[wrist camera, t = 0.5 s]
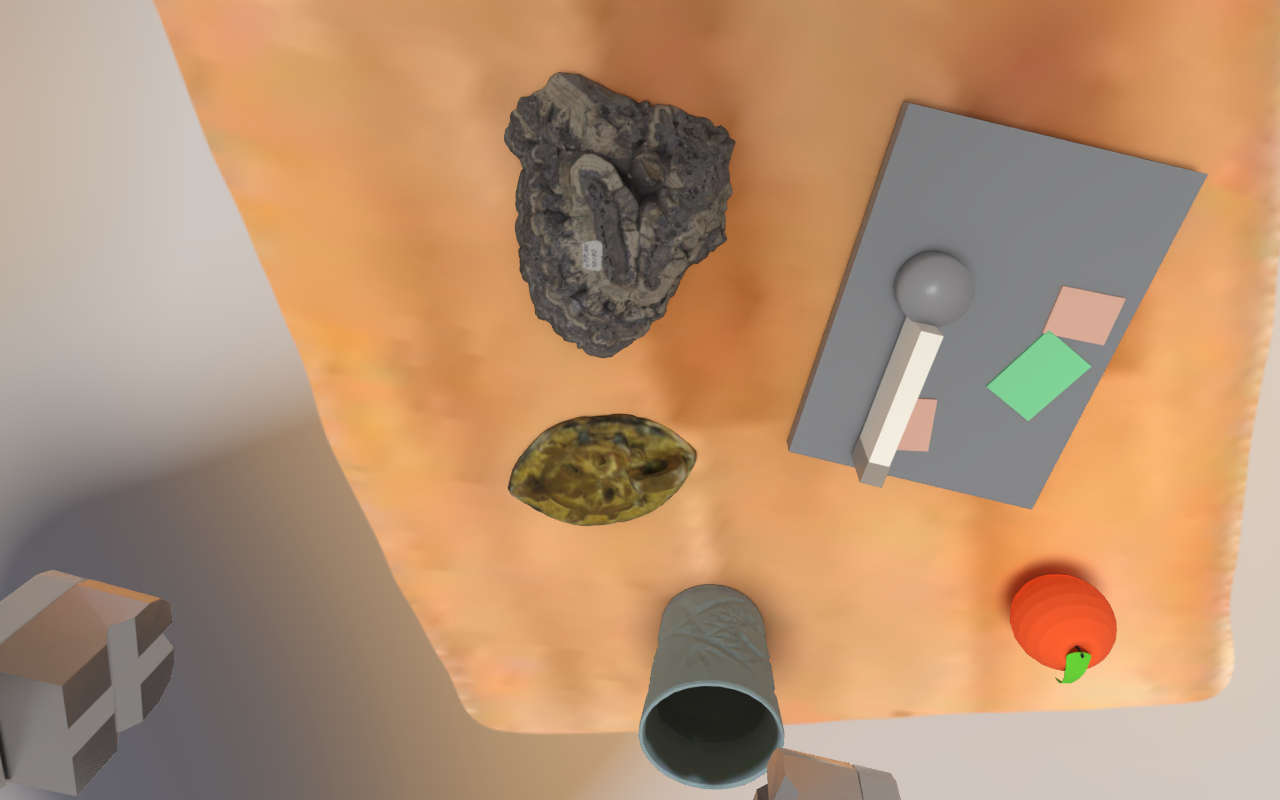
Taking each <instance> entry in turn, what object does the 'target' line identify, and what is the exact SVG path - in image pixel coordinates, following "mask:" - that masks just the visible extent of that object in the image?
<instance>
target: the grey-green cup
mask: <svg viewBox="0 0 1280 800" xmlns="http://www.w3.org/2000/svg"><path fill="white" fill-rule="evenodd" d="M658 642H659V645H658V648H657V651H656V654H655V656H654V663H653V666H652V670H651V677H650V684H649V691H648V694H647V697H646V700H645V704H644V708H643V712H642V716H641V721H640V725H639V739H640V745H641V747H642V750H643V752H644V754H645V755H646V757H647V758H648V760H649V761H650V762H651V763H652V764H653V765H654V766H655V767H656V768H657V769H658V770H659V771H661V772H662V773H663V774H665V775H666V776H668V777H669V778H671V779H673V780H676V781H678V782H680V783H682V784H685V785H688V786H692V787H697V788H702V789H728V788H733V787H737V786H741V785H745V784H747V783H749V782H752V781H754V780H755V779H757V778H758V777H760V776H761V775H763V774H765V773H766V772H767V764H768V762H769V760H770V758H771V755H772V753H773V752H774V751H775V750H776V749H777V748H778V747H780V748H783V746H784V729H783V724H782V719H781V715H780V710H779V706H778V701H777V697H776V695H775V694H774V690H775V687H774V680H773V674H772V670H771V663H770V662H769V657H770V656H769V652H768V647H767V645H766V635H765V629H764V623H763V620H762V617H761V614H760V612H759V610H758V609H757V607H756V606H755V604H754V603H753V602H752V601H751V600H750V599H749V598H748V597H746V596H745V595H744V594H742V593H740V592H739V591H737V590H734V589H732V588H729V587H726V586H721V585H700V586H695V587H692V588H689V589H687V590H685V591H683V592H681V593H679V594H678V595H677V596H675V597H674V598H673V599H672V600H671V601H670V603H669V604H668V606H667V607H666V609H665V611H664V613H663V616H662V621H661V626H660V631H659V636H658Z"/></svg>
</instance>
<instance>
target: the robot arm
mask: <svg viewBox="0 0 1280 800" xmlns="http://www.w3.org/2000/svg"><path fill="white" fill-rule="evenodd" d="M171 623H172V614H171V605H170V603H169V602H167V601H165V600H163V599H161V598H157V597H154V596H150V595H146V594H143V593H139V592H135V591H131V590H128V589H124V588H120V587H117V586H112V585H109V584H105V583H102V582H98V581H94V580H91V579H89V580H88V579H84V578H81V577H76V576H73V575H70V574H66V573H62V572H58V571H55V570H51V571H48V572H44V573H41V574H37V575H36V576H34V577H33V578H32V579H30V580H29V581H28V582H26V583H25V584H24V585H22V586H21V587H20V588H18V589H17V590H16V591H14V592H13V593H12V594H10V595H9V596H8V597H6V598H5V599H3V600H2V601H1V602H0V789H1V788H2V787H4V786H5V785H6V782H5V781H7V782H12V783H16V784H21V785H26V786H31V787H36V788H41V789H45V790H51V791H55V792H60V793H64V794H69V795H74V796H78V795H79V793H80V792H81V791H82V790H83V789H84V788H85V787H86V785H87V784H88V783H89V782H90V781H91V780H92V779H93V778H94V776H95V775H96V774H97V773H98V772H99V771H100V770H101V769H102V767H103V766H104V765H105V764H106V763H107V762H108V761H109V759H110V758H111V757H112V756H113V755H114V754H115V753H116V752H117V750H118V733H119V732H121V731H123V730H125V729H127V728H129V727H131V726H134V725H136V724H138V723H140V722H142V721H144V719H145V718H146V717H147V716H148V715H149V713H150V712H151V711H152V710H153V709H154V707H155V706H156V705H157V704H158V703H159V701H160V699H161V697H162V695H163V693H164V691H165V689H166V687H167V686H168V684H169V682H170V679H171V675H172V670H173V666H174V648H173V647H172V645H171V644H170V643H169V641H168V640H167V639H166V637H165V636H164V635H163V632H164V631H165V629H167V627H169V625H170V624H171ZM767 780H768V784H766V785H764V786H762V787H761V788H759V789H757V791H756V794H755V796H754V799H753V800H901V799H900V795H899V791H898V787H897V783H896V780H895V779H894V778H893V776H892V775H891V773H887V772H883V771H879V770H875V769H870V768H866V767H862V766H857V765H850V764H849V763H846V762H841V761H837V760H832V759H828V758H823V757H819V756H815V755H811V754H806V753H802V752H798V751H793V750H789V749H784V748H780V747H778V748H777V749H776V750H775V751H774V752H773V753H772V755H771V758H770V760H769V762H768V764H767Z"/></svg>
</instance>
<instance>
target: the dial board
mask: <svg viewBox="0 0 1280 800" xmlns="http://www.w3.org/2000/svg"><path fill="white" fill-rule="evenodd" d="M1207 175H1208V174H1204V173H1200V172H1197V171H1193V170H1188V169H1184V168H1180V167H1176V166H1172V165H1167V164H1163V163H1159V162H1155V161H1151V160H1147V159H1142V158H1138V157H1134V156H1130V155H1126V154H1121V153H1117V152H1113V151H1109V150H1105V149H1101V148H1096V147H1092V146H1088V145H1084V144H1080V143H1075V142H1071V141H1067V140H1063V139H1059V138H1055V137H1050V136H1046V135H1042V134H1038V133H1034V132H1029V131H1025V130H1021V129H1017V128H1013V127H1008V126H1004V125H1000V124H996V123H992V122H988V121H983V120H979V119H975V118H971V117H967V116H962V115H958V114H954V113H950V112H946V111H942V110H937V109H933V108H929V107H925V106H921V105H916V104H912V103H908V102H903V105H902V108H901V111H900V113H899V116H898V119H897V122H896V125H895V128H894V131H893V134H892V137H891V140H890V143H889V146H888V149H887V151H886V154H885V157H884V160H883V163H882V166H881V169H880V172H879V175H878V178H877V181H876V184H875V187H874V189H873V192H872V195H871V198H870V201H869V204H868V207H867V210H866V213H865V216H864V219H863V222H862V225H861V227H860V230H859V233H858V236H857V239H856V242H855V245H854V248H853V251H852V254H851V257H850V260H849V263H848V266H847V268H846V271H845V274H844V277H843V280H842V283H841V286H840V289H839V292H838V295H837V298H836V301H835V304H834V306H833V309H832V312H831V315H830V318H829V321H828V324H827V327H826V330H825V333H824V336H823V339H822V342H821V344H820V347H819V350H818V353H817V356H816V359H815V362H814V365H813V368H812V371H811V374H810V377H809V380H808V382H807V385H806V388H805V391H804V394H803V397H802V400H801V403H800V406H799V409H798V412H797V415H796V418H795V421H794V423H793V426H792V429H791V432H790V435H789V438H788V441H787V444H788V450H789V452H793V453H797V454H801V455H805V456H810V457H814V458H818V459H822V460H826V461H830V462H835V463H839V464H843V465H847V466H851V467H855V465H854V462H853V459H852V453H853V451H854V448H855V445H856V443H857V440H858V438H859V437H860V435H861V433H862V430H863V427H864V425H865V422H866V420H867V417H868V415H869V412H870V409H871V407H872V404H873V402H874V399H875V396H876V394H877V391H878V389H879V386H880V384H881V381H882V378H883V376H884V373H885V371H886V368H887V366H888V363H889V360H890V358H891V355H892V353H893V350H894V348H895V345H896V342H897V340H898V337H899V335H900V332H901V330H902V327H903V324H904V322H905V319H906V317H907V316H906V315H905V313H904V312H903V310H902V309H901V307H900V306H899V304H898V303H897V301H896V298H895V295H894V282H895V278H896V276H897V273H898V272H899V270H900V268H901V267H902V266H903V265H904V264H905V263H906V262H907V261H908V260H909V259H910V258H912V257H914V256H916V255H918V254H920V253H923V252H927V251H940V252H945V253H947V254H950V255H951V256H953V257H954V258H956V259H957V260H958V261H959V262H960V263H961V264H962V265H963V266H964V267H966V268H967V269H968V271H969V272H970V273H971V275H972V277H973V280H974V284H975V294H974V298H973V301H972V303H971V305H970V307H969V309H968V310H967V312H966V313H965V314H964V315H963V316H962V317H961V318H959V319H958V320H957V321H955V322H953V323H951V324H949V325H947V326H943V327H938V330H939V331H940V332H941V333H942V335H943V336H944V337H943V339H942V342H941V344H940V346H939V349H938V351H937V354H936V356H935V358H934V361H933V363H932V366H931V368H930V370H929V373H928V375H927V378H926V380H925V383H924V385H923V387H922V390H921V392H920V395H919V397H918V399H917V402H916V404H915V407H914V409H913V411H912V414H911V416H910V419H909V421H908V423H907V426H906V428H905V431H904V433H903V435H902V438H901V440H900V443H899V445H898V447H897V450H896V452H895V455H894V457H893V459H892V462H891V464H890V469H889V472H888V474H887V475H889V476H893V477H898V478H902V479H906V480H910V481H914V482H919V483H923V484H927V485H931V486H935V487H939V488H944V489H948V490H952V491H956V492H960V493H965V494H969V495H973V496H977V497H981V498H986V499H990V500H994V501H998V502H1002V503H1007V504H1011V505H1015V506H1019V507H1023V508H1028V509H1032V508H1033V506H1034V504H1035V502H1036V501H1037V499H1038V497H1039V495H1040V493H1041V491H1042V489H1043V487H1044V485H1045V483H1046V481H1047V480H1048V478H1049V476H1050V474H1051V472H1052V470H1053V468H1054V466H1055V464H1056V462H1057V461H1058V459H1059V457H1060V455H1061V453H1062V451H1063V449H1064V447H1065V445H1066V443H1067V442H1068V440H1069V438H1070V436H1071V434H1072V432H1073V430H1074V428H1075V426H1076V424H1077V422H1078V421H1079V419H1080V417H1081V415H1082V413H1083V411H1084V409H1085V407H1086V405H1087V403H1088V402H1089V400H1090V398H1091V396H1092V394H1093V392H1094V390H1095V388H1096V386H1097V384H1098V382H1099V381H1100V379H1101V377H1102V375H1103V373H1104V371H1105V369H1106V367H1107V365H1108V363H1109V362H1110V360H1111V358H1112V356H1113V354H1114V352H1115V350H1116V348H1117V346H1118V344H1119V343H1120V341H1121V339H1122V337H1123V335H1124V333H1125V331H1126V329H1127V327H1128V325H1129V323H1130V322H1131V320H1132V318H1133V316H1134V314H1135V312H1136V310H1137V308H1138V306H1139V304H1140V303H1141V301H1142V299H1143V297H1144V295H1145V293H1146V291H1147V289H1148V287H1149V285H1150V284H1151V282H1152V280H1153V278H1154V276H1155V274H1156V272H1157V270H1158V268H1159V266H1160V264H1161V263H1162V261H1163V259H1164V257H1165V255H1166V253H1167V251H1168V249H1169V247H1170V245H1171V244H1172V242H1173V240H1174V238H1175V236H1176V234H1177V232H1178V230H1179V228H1180V226H1181V225H1182V223H1183V221H1184V219H1185V217H1186V215H1187V213H1188V211H1189V209H1190V207H1191V205H1192V204H1193V202H1194V200H1195V198H1196V196H1197V194H1198V192H1199V190H1200V188H1201V186H1202V185H1203V183H1204V181H1205V179H1206V177H1207Z"/></svg>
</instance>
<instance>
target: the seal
mask: <svg viewBox="0 0 1280 800" xmlns="http://www.w3.org/2000/svg"><path fill="white" fill-rule="evenodd" d="M695 462H696V451H695V449H694V448H693V447H692V446H691V445H690V444H689V443H687V442H686V441H685V440H684V439H683V438H681V437H680V436H679V435H678V434H676V433H675V432H674V431H672V430H670V429H669V428H667V427H665V426H663V425H661V424H659V423H657V422H654V421H651V420H648V419H645V418H639V417H636V416H633V415H627V414H612V415H608V416H600V417H591V418H588V417H577V418H574V419H572V420H569V421H565V422H562V423H560V424H558V425H556V426H554V427H552V428H549V429H548V430H546V431H545V432H543V433H542V434H540V436H539V437H538V438H537V439H536V440H535V441H534V442H533V443H532V444H531V445H530V446H529V447H528V449H527V450H526V451H525V452H524V454H523V455H522V456H520V458H519V459H518V461H517V463H516V465H515V466H514V468H513V470H512V474H511V477H510V481H509V486H508V489H509V491H510V493H511V495H513V496H514V497H515V498H517V499H519V500H520V501H522V502H524V503H525V504H527V505H530V506H531V507H532V508H534V509H535V510H537V511H540V512H542V513H544V514H545V515H547V516H549V517H551V518H554V519H557V520H559V521H562V522H566V523H569V524H573V525H580V526H592V525H606V524H612V523H616V522H625V521H629V520H632V519H635V518H638V517H640V516H643V515H645V514H648V513H650V512H652V511H653V510H655V509H657V508H658V507H659V506H661V505H663V504H664V503H665V502H666V501H667V500H668V499H670V498H671V497H672V496H673V495H674V494H675V493H676V492H677V491H678V490H679V488H680V487H681V486H682V485H683V483H684V482H685V480H686V478H687V477H688V475H689V474H690V472H691V470H692V468H693V467H694V465H695Z"/></svg>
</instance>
